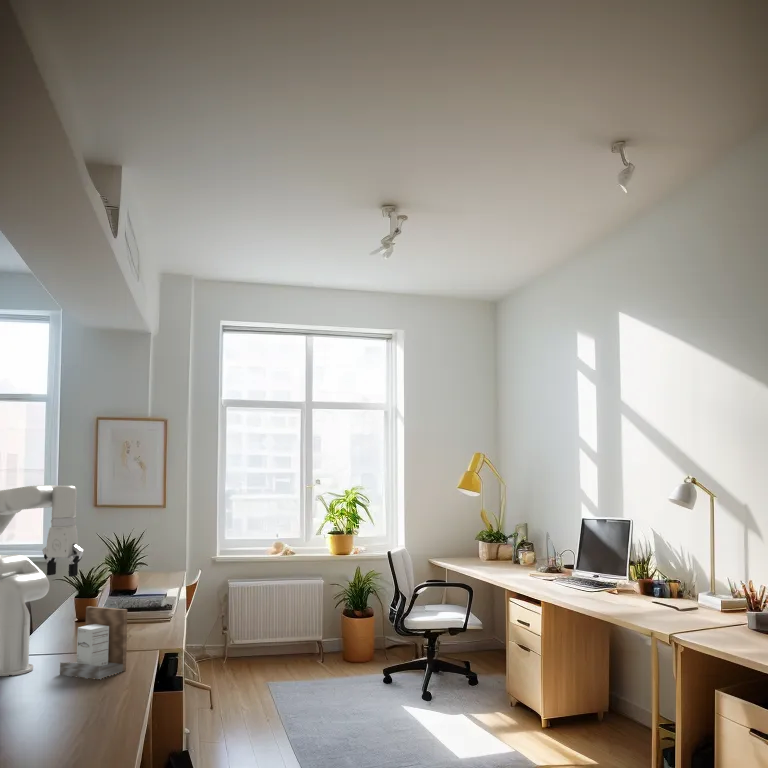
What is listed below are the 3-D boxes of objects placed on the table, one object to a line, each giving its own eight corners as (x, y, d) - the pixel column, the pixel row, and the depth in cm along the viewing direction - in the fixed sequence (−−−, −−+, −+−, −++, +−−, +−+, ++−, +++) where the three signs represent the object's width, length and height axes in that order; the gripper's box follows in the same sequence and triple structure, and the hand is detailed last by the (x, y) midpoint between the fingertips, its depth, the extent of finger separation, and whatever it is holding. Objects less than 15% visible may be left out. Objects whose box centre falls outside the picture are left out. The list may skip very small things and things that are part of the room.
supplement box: (75, 666, 250) (76, 627, 252) (95, 661, 257) (95, 623, 258) (89, 669, 246) (90, 629, 248) (109, 664, 253) (109, 625, 254)
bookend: (59, 674, 250) (61, 612, 252) (87, 666, 261) (89, 606, 263) (99, 679, 243) (100, 615, 245) (126, 670, 254) (127, 609, 256)
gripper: (35, 523, 253) (33, 575, 252) (74, 524, 246) (72, 578, 244) (53, 521, 260) (52, 573, 258) (91, 522, 253) (90, 575, 251)
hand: (62, 575), depth 251 cm, fingers open, 9 cm apart
